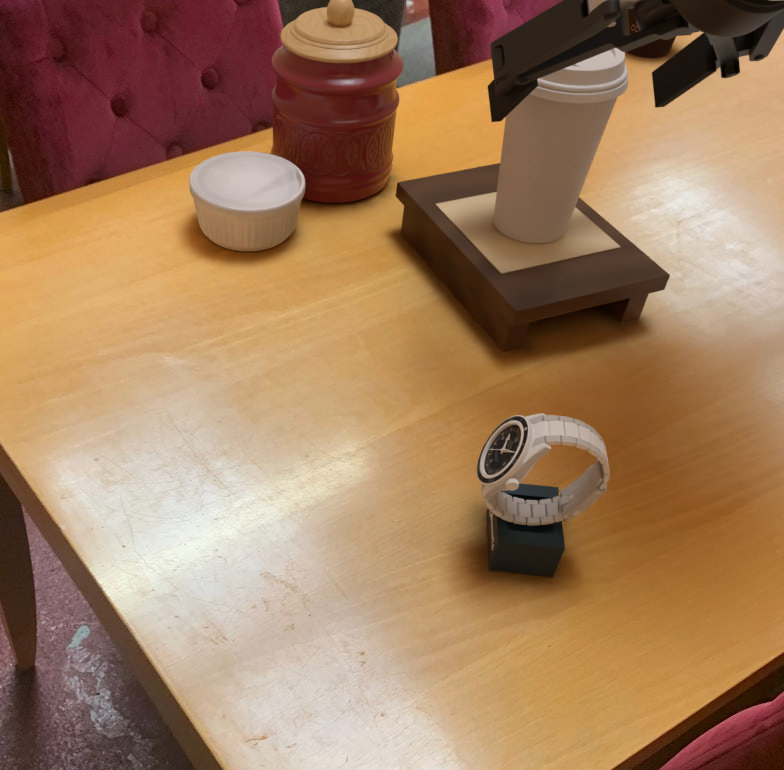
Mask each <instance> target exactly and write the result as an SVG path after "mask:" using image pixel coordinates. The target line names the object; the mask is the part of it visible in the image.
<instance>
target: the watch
mask: <svg viewBox="0 0 784 770" xmlns="http://www.w3.org/2000/svg"><path fill="white" fill-rule="evenodd" d="M560 444H561V445H562V446H568V447H575V448H577V449H580V450H583V451H587V453H589V454H590V455H592V456H593V457H594V458H596V460H595V462H594V464H591V465H590V466H588V468H587V469H586V470H585V471H584V472H583V473H582V474H581V475H580V476H579V477H578V478H576V479H575V480H573V481H572V482H571V483H570V484H568V485H566V486H565V487H564V488H562V489H559V487H558V486H551V485H540V484H532V483H531V484H530V483H522V482H524V481H525V479H526V478H527V477H528V476H529V475H530V474H531V472H532V470H533V469H534V467H536V464H537V463H538V461H539V460H541V459H542V458H543V457H544V456H546V455H547V454H549V453H550V452H551V450H552V446H559V445H560ZM610 473H611V470H610V465H609V458H608V453H607V447H606V443H605V441H604V439H603V438H602V436H601V434H600V433H599V432H598V431H597V430H596V429H595V428H594V427H592V426H591V425H590V424H589V423H586V422H584V421H582V420H580V419H577V418H573V417H570V416H565V415H556V414H545V413H543V412H542V413H535V414H530V415H527V416H524V415H520V414H516V415H515V414H514V415H512V416H510V417H508V418H507V419H505V420H503V421H502V422H501V423H499V424H498V425H497V426H496V428H494V430H493V431H492V432H491V434H490V435H489V436H488V437H487V439H486V441H485V442H484V444H483V446H482V448H481V450H480V453H479V455H478V458H477V463H476V477H477V480H478V481H479V482H480V485H481V486H480V487H481V489H480V490H481V491H480V492H481V493H480V494H481V498H482V500H483V503H484V505H485V506H486V527H487V528H486V531H487V553H488V554H487V555H488V571H489V572H496V573H497V572H498V573H506V574H507V573H508V574H518V575H525V576H526V575H527V576H535V577H536V576H537V577H545V578H554V577H555V574H556V572H557V570H558V567H559V565H560V563H561V560H562V558H563V555H564V552H565V549H566V543H565V535H564V526H563V521H565V523H567V522H569V521H570V520H572V519H574V518H576V517H577V516H579V515H581V514H582V513H583V512H585V511H587V510H589V508H591V507H592V506H593V505H594V504H595V503H596V502H597V501H598V500H599V499H600V498H601V497H602V496H603V495H604V494H606V492H607V490H608V484H609V481H610V477H611V474H610Z"/></svg>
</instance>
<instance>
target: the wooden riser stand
mask: <svg viewBox="0 0 784 770" xmlns="http://www.w3.org/2000/svg"><path fill="white" fill-rule="evenodd" d="M499 169H500V162H498V163H492V164H487V165H482V166H476V167H471V168H465V169H461V170H456V171H449V172H445V173H440V174H434V175H428V176H423V177H418V178H412V179H407V180H402V181H397V182H396V190H395V198H396V199H397V200H398V201H399V202H400V203H401V204H402V205H403V212H402V220H401V227H400V234H401V236H403V237H404V239H405V240H406V241H407V242H408V244H410V246H411V247H412V248H413V249H414V250H415V251H416V253H417V254H418V255H419V256H420V257H421V258H422V260H423V261H424V262H425V263H426V264H427V265H428V266H429V268H430V269H431V270H432V271H433V272H434V274H435V275H436V276H437V277H438V278H439V279H440V280H441V282H443V284H445V286H446V287H447V288H448V289H449V291H450V292H451V293H452V294H453V295H454V296H455V298H456V299H457V300H458V301H459V302H460V303H461V304H462V306H463V307H464V308H465V309H466V310H467V311H468V313H469V314H470V315H471V316H472V317H473V318H474V320H475V321H476V322H477V323H478V324H479V326H480V327H481V328H483V330H484V331H485V332H486V333H487V335H488V336H489V337H490V339H492V341H494V342H495V344H496V345H497V346H498V347H499V348H500V350H501V351H502V352H506V351H507V352H508V351H510V350H511V351H512V350H514V349H519V348H523V347H524V345H525V341H526V337H527V334H528V330H529V326H530V323H532V322H536V321H540V320H544V319H548V318H552V317H556V316H561V315H565V314H569V313H573V312H578V311H582V310H586V309H590V308H594V307H599V306H603V307H604V308H605V309H606V310H607V311H608V312H609V313H610V314H611V315H612V316H613V317H615V318H616V319H617V321H619V322H620V323H624V322H629V321H634V320H636V319H640V317H641V315H642V312H643V309H644V307H645V305H646V303H647V299H648V297H649V295H650V294H653V293H658V292H662V291H665V290H666V287H667V284H668V282H669V280H670V276H671V274H670V273H668V272H667V271H666V270H665V269H663V267H661V266H660V265H659V264H658V263H657V262H656V261H654V259H652V258H651V257H650V256H649V255H648V254H646V253H645V252H644V250H643V251H642V249H640V248H639V247H638V246H637V245H636V244H635V243H634V242H632V241H631V240H630V239H629V238H628V237H626V236H625V235H624V234H623V233H622V232H621V231H620V230H618V229H617V227H615V226H613V224H612V223H610V222H609V221H608V220H606V219H605V218H604V217H603V216H602V215H601V214H600V213H599V212H597V211H596V210H595V209H594V208H593V207H592V206H590V205H589V204H588V203H587V202H586V201H584V200H583V199H582V198H581V197H580V196H579V198H578V201H577V203H576V206H575V209H574V211H573V214H572V216H571V219H570V222H569V224H568V227H567V229H566V232H565V234H564V235H563V236H562V237H561V238H559V239H558V240H555V241H552V242H548V243H540V244H534V243H525V242H520V241H517V240H514V239H511V238H509V237H507V236H505V235H503V234H502V233H501V232H499V231H498V230H497V228H496V227H495V225H494V222H493V219H494V210H495V202H496V194H497V186H498V177H499Z"/></svg>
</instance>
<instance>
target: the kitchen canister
mask: <svg viewBox="0 0 784 770" xmlns="http://www.w3.org/2000/svg"><path fill="white" fill-rule="evenodd" d="M279 36H280V41H281V43H282V45H281V46H279V48H277V49H276V50H275V52H274V53H273V55H272V57H271V68H272V71H274V73H275V74H276V83H275V85H274V87H273V89H272V90H271V101H272V146H271V151H270V154H272V155H276V156H279V157H282V158H284V159H286V160H288V161H290V162H291V163H293V164H294V165H296V166H297V167H298V168H299V169H300V170H301V172H302V173H303V175H304V178H305V193H304V196H303V198H302V199H304V200H308V201H312V202H318V203H328V204H339V203H341V204H342V203H351V202H355V201H360V200H365V199H367V198H369V197H371V196H373V195H376V194H377V193H378V192H380V191H381V190H383V188H384V187H385V186H386V184H387V183H388V181H389V176H390V174H391V172H392V169H393V162H394V153H393V147H394V136H395V130H396V120H397V113H398V112H397V111H398V110H397V109H398V107H399V104H400V94H399V91H398V90H397V80H398V79H399V77H400V76H401V75H402V74H403V70H404V60H403V58H402V56H401V54H400V53H399V52H398V51H397V50H395V48H396V47H397V45H398V41H399V39H398V34H397V32H396V30H394V28H392V27H391V26H390V25H388V24H387V23H385V22H384V20H383V19H382V18H381V17H380V16H378V15H377V14H375V13H373V12H370V11H368V10H365V9H361V8H357V7H355V5H354V3H353V1H352V0H329V2H328V4H327V6H325V7H319V8H313V9H310V10H308V11H305V12H302V13H301V14H300V15H299V16H298V17H296V19H294V20H292V21H290V22H289V23H287V24H286V25H285V26H284V27H283V28H282V29H281V32H280V35H279Z"/></svg>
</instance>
